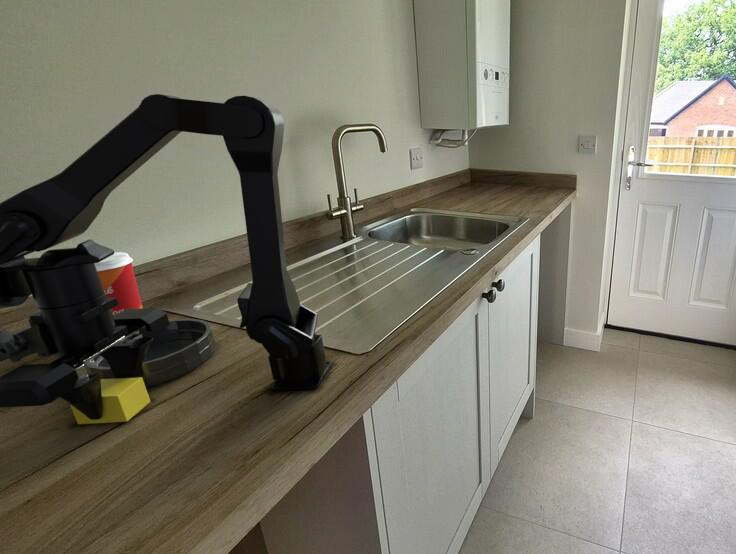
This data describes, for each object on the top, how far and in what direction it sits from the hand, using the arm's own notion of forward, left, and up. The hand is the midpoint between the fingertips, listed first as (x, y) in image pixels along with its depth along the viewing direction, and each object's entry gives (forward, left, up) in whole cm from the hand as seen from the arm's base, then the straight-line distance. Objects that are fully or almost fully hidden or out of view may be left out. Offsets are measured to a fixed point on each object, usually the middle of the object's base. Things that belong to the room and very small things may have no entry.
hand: (113, 406), depth 54 cm
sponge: (0, 0, -1) cm, 1 cm away
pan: (+3, -12, -1) cm, 12 cm away
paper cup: (+18, -25, -1) cm, 31 cm away
